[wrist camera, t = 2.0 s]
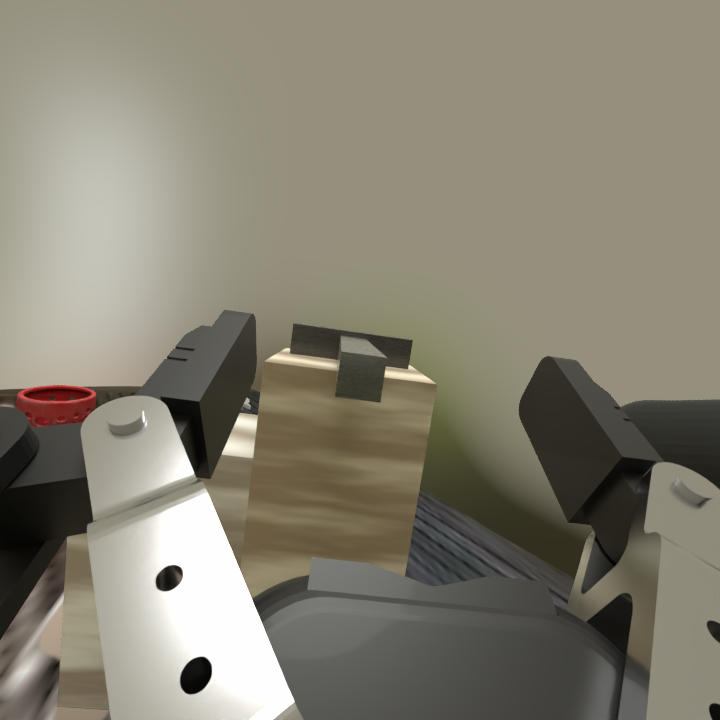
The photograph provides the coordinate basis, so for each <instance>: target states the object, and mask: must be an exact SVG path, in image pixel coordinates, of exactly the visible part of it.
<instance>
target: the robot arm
mask: <svg viewBox="0 0 720 720" xmlns="http://www.w3.org/2000/svg"><path fill="white" fill-rule="evenodd" d="M256 364H257V356H256V320H255V316H254V314H249V313H243V312H236V311H229V310H224V311H223V312H222V314H221V315H220V316H219V318H218V319H217V320H216V322H215V323H214V324H213V326H212V327H210V326H200V327H198V328H196V329H195V330H193V331H191V332H190V333H187V334H186V335H185V336H184V337H183V338H182V339H181V341H180V342H179V343H178V344H177V346H176V348H175V349H173V350H172V351H171V353H170V354H169V355H168V356H167V359H165V360H164V361H163V362H162V364H161V365H160V366H159V367H158V368H157V370H156V371H155V372H154V373H153V374H152V376H151V377H150V378H149V379H148V380H147V382H146V383H145V384H144V385H143V386H142V388H141V389H140V390H139V391H138V392H137V394H136V395H135V396H128V397H123V398H119V399H116V400H113V401H110V402H108V403H106V404H104V405H102V406H100V407H98V408H97V409H95V410H94V411H93V412H92V413H91V414H89V415H88V417H87V418H86V419H85V420H84V422H80V423H71V424H62V425H52V426H43V427H33V428H32V426H31V424H30V422H29V420H28V418H27V416H26V415H25V414H24V413H23V412H22V411H20V410H18V409H15V408H11V407H0V639H1V638H2V636H3V635H4V633H5V632H6V630H7V629H8V627H9V625H10V624H11V622H12V621H13V619H14V618H15V616H16V615H17V613H18V611H19V610H20V608H21V607H22V605H23V604H24V602H25V601H26V599H27V598H28V596H29V594H30V593H31V591H32V590H33V588H34V587H35V585H36V584H37V582H38V580H39V579H40V577H41V576H42V574H43V573H44V571H45V570H46V568H47V567H48V565H49V563H50V562H51V560H52V559H53V557H54V556H55V554H56V553H57V551H58V550H59V548H60V546H61V545H62V543H63V542H64V540H65V539H66V537H68V536H74V535H79V534H84V533H87V540H88V548H89V556H90V563H91V571H92V579H93V586H94V594H95V601H96V609H97V617H98V624H99V632H100V640H101V647H102V655H103V663H104V670H105V678H106V686H107V693H108V701H109V709H110V716H111V720H720V400H685V401H684V400H682V401H662V400H658V401H657V400H643V401H636V402H632V403H629V404H627V405H625V406H623V407H620V406H619V405H618V404H617V403H616V402H615V400H614V399H613V398H612V397H611V395H610V394H609V393H608V392H607V391H605V390H604V389H603V388H601V387H600V386H599V385H597V384H596V383H595V382H593V380H592V379H591V378H590V376H589V375H588V374H587V372H586V371H585V370H584V369H583V367H582V366H581V365H580V364H579V363H578V362H577V361H576V360H571V359H564V358H557V357H550V356H547V357H545V358H543V359H542V360H541V362H540V363H539V365H538V367H537V369H536V370H535V372H534V374H533V377H532V378H531V380H530V382H529V384H528V386H527V388H526V390H525V392H524V394H523V396H522V398H521V400H520V404H519V416H520V420H521V422H522V424H523V426H524V428H525V430H526V433H527V435H528V437H529V439H530V441H531V443H532V445H533V448H534V450H535V452H536V454H537V456H538V459H539V461H540V463H541V465H542V467H543V469H544V471H545V474H546V476H547V478H548V480H549V482H550V484H551V486H552V489H553V491H554V493H555V495H556V497H557V500H558V502H559V504H560V506H561V508H562V510H563V512H564V515H565V517H566V519H567V521H568V522H570V523H579V524H587V525H591V526H592V528H593V530H594V531H593V533H592V534H591V535H590V536H589V537H588V538H587V540H586V543H585V547H584V550H583V554H582V557H581V561H580V565H579V568H578V571H577V575H576V578H575V582H574V585H573V589H572V592H571V596H570V599H569V602H568V604H567V606H566V608H565V609H563V608H561V607H559V606H557V605H555V604H554V603H553V601H552V598H551V595H550V592H549V589H548V587H547V584H546V582H540V581H531V580H522V579H512V578H503V577H493V576H488V577H483V578H478V579H473V580H468V581H463V582H458V583H453V584H448V585H442V586H429V585H426V584H423V583H420V582H418V581H415V580H413V579H410V578H407V577H405V576H402V575H400V574H397V573H394V572H392V571H389V570H387V569H384V568H381V567H379V566H376V565H374V564H371V563H362V562H353V561H344V560H334V559H325V558H316V557H312V560H311V567H310V574H309V575H306V576H301V577H296V578H293V579H290V580H287V581H284V582H281V583H279V584H277V585H274V586H272V587H270V588H268V589H266V590H265V591H263V592H261V593H260V594H258V595H257V596H255V597H253V598H252V599H251V596H250V594H249V591H248V589H247V587H246V584H245V582H244V579H243V577H242V575H241V572H240V570H239V567H238V565H237V562H236V560H235V558H234V555H233V553H232V550H231V548H230V545H229V543H228V541H227V538H226V536H225V533H224V531H223V528H222V526H221V524H220V521H219V519H218V516H217V514H216V512H215V509H214V507H213V504H212V502H211V499H210V497H209V495H208V492H207V490H206V488H205V486H204V484H203V482H202V480H201V479H198V480H197V478H204V479H211V477H212V475H213V473H214V470H215V468H216V466H217V463H218V461H219V459H220V457H221V454H222V452H223V450H224V448H225V445H226V443H227V441H228V438H229V436H230V434H231V432H232V429H233V427H234V425H235V423H236V420H237V418H238V416H239V414H240V411H241V409H242V407H243V404H244V402H245V400H246V398H247V395H248V393H249V391H250V389H251V386H252V384H253V381H254V378H255V373H256Z"/></svg>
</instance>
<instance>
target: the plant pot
mask: <svg viewBox="0 0 720 720" xmlns="http://www.w3.org/2000/svg"><path fill="white" fill-rule="evenodd" d="M52 396H53V397H54V398H55V399H54V400H52V401H51V400H49V398H50V397H52ZM70 397H74V398H75V400H71V401H69V398H70ZM81 398H82V399H81ZM95 405H96V393H95V392H94V391H93V390H90V389H87V388H83V387H76V386H65V385H64V386H63V385H53V386H40V387H34V388H29V389H25V390H23V391H21V392H19V393H18V395H17V409H18V410H20V411H22V412H23V413H24V414H25V415H26V416H27V418H28V420H29V422H30V424H31V426H32V428H33V427H43V426H52V425H62V424H71V423H80V422H84V420H85V419H86V418H87V417H88V415H89V414H91V413H92V412H93V411H94V410H95Z"/></svg>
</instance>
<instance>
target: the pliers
mask: <svg viewBox="0 0 720 720" xmlns="http://www.w3.org/2000/svg"><path fill="white" fill-rule="evenodd" d="M248 403H249V399H248V398H246V400H245V402H244V404H243V407H245V408H247V409H250V407H251V406H250V405H249V404H248Z"/></svg>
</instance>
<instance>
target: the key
mask: <svg viewBox="0 0 720 720" xmlns="http://www.w3.org/2000/svg"><path fill="white" fill-rule="evenodd" d="M412 342H413V341H412V340H410V339H407V338H400V337H393V336H386V335H379V334H372V333H365V332H357V331H351V330H344V329H336V328H330V327H322V326H315V325H308V324H301V323H294V324H293V332H292V339H291V348H290V354H297V355H305V356H312V357H320V358H327V359H334V360H337V372H336V389H335V397H340V398H348V399H356V400H363V401H371V402H379V403H380V402H381V395H382V389H383V382H384V375H385V369H386V367H394V368H401V369H408V367H409V360H410V354H411V347H412Z"/></svg>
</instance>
